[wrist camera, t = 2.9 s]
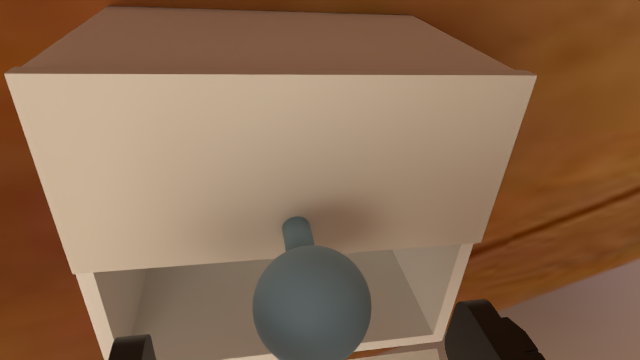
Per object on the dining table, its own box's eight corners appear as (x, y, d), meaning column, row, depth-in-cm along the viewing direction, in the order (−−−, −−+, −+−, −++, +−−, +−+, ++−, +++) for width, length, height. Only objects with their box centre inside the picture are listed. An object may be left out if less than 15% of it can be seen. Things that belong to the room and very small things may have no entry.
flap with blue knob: (526, 69, 14) (687, 151, 9) (471, 239, 18) (564, 361, 13) (14, 66, 11) (-158, 183, 6) (79, 268, 15) (5, 439, 10)
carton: (412, 15, 24) (528, 77, 14) (379, 215, 31) (441, 340, 22) (107, 5, 21) (8, 75, 11) (150, 229, 28) (111, 381, 19)
